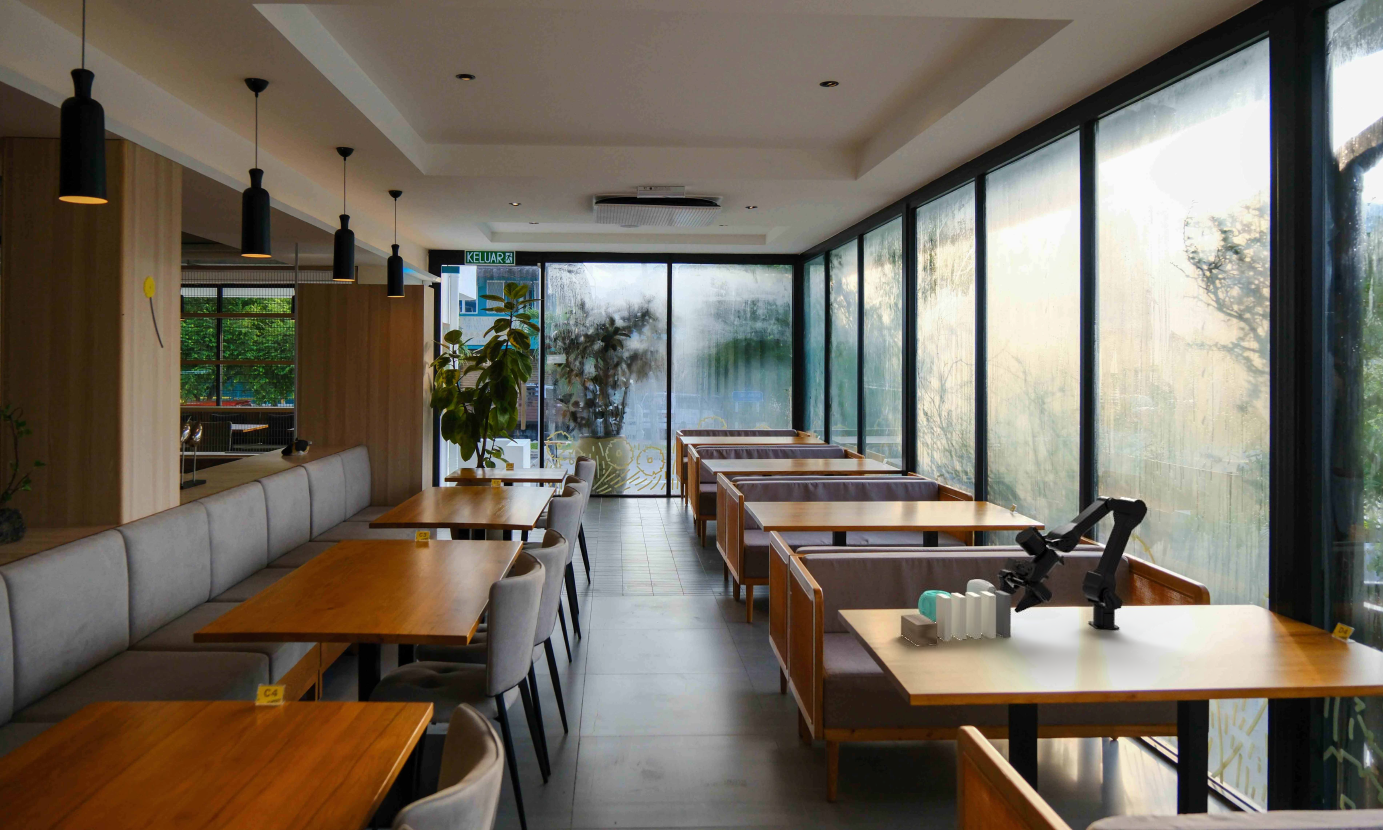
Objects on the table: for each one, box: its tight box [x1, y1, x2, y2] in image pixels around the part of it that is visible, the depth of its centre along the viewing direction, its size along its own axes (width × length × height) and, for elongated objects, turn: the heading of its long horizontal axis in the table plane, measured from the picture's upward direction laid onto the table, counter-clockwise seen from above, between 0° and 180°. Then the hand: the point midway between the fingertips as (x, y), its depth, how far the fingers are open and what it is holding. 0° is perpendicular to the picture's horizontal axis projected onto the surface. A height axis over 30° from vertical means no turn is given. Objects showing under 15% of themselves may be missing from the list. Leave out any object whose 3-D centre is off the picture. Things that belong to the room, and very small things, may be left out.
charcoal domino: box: [994, 590, 1012, 638], centre depth 238 cm, size 2×5×12 cm, turn 14°
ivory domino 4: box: [980, 591, 997, 639], centre depth 237 cm, size 2×5×12 cm, turn 11°
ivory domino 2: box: [950, 592, 967, 641], centre depth 235 cm, size 2×5×12 cm, turn 11°
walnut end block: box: [900, 613, 938, 646], centre depth 233 cm, size 6×10×6 cm, turn 11°
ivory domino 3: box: [965, 591, 982, 640], centre depth 236 cm, size 2×5×12 cm, turn 11°
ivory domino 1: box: [936, 594, 952, 642], centre depth 235 cm, size 2×5×12 cm, turn 11°
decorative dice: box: [917, 590, 951, 622], centre depth 254 cm, size 8×8×8 cm
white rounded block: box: [966, 578, 998, 595], centre depth 252 cm, size 10×4×12 cm, turn 20°
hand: (1005, 607), depth 238 cm, fingers open, 9 cm apart
